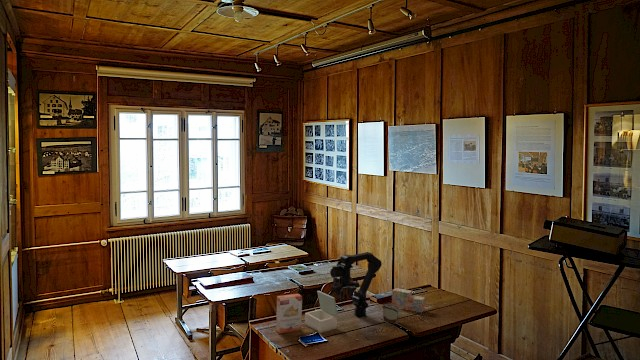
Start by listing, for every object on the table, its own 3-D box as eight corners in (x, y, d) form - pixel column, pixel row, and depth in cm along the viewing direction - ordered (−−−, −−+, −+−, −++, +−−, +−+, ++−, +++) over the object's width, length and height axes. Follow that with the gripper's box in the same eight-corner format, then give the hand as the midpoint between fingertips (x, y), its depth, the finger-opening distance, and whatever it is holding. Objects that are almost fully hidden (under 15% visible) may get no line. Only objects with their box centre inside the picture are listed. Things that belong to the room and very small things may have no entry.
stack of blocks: (424, 311, 306) (425, 293, 305) (421, 313, 301) (422, 295, 300) (394, 304, 317) (395, 287, 316) (391, 307, 312) (391, 289, 311)
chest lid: (320, 309, 285) (322, 308, 286) (337, 317, 272) (338, 316, 273) (317, 291, 283) (318, 290, 283) (333, 298, 269) (334, 297, 270)
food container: (403, 323, 283) (404, 307, 283) (398, 325, 279) (398, 309, 278) (387, 317, 292) (387, 302, 291) (381, 320, 287) (381, 304, 287)
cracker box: (279, 334, 262) (280, 298, 261) (275, 330, 268) (276, 295, 266) (301, 330, 268) (302, 295, 267) (297, 327, 274) (298, 292, 273)
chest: (320, 320, 286) (320, 309, 285) (336, 328, 273) (336, 317, 272) (304, 324, 279) (305, 312, 278) (320, 332, 266) (320, 321, 265)
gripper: (349, 270, 297) (348, 293, 298) (326, 274, 286) (325, 298, 287) (360, 274, 288) (359, 298, 289) (337, 278, 277) (336, 303, 278)
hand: (345, 299), depth 286 cm, fingers open, 7 cm apart
